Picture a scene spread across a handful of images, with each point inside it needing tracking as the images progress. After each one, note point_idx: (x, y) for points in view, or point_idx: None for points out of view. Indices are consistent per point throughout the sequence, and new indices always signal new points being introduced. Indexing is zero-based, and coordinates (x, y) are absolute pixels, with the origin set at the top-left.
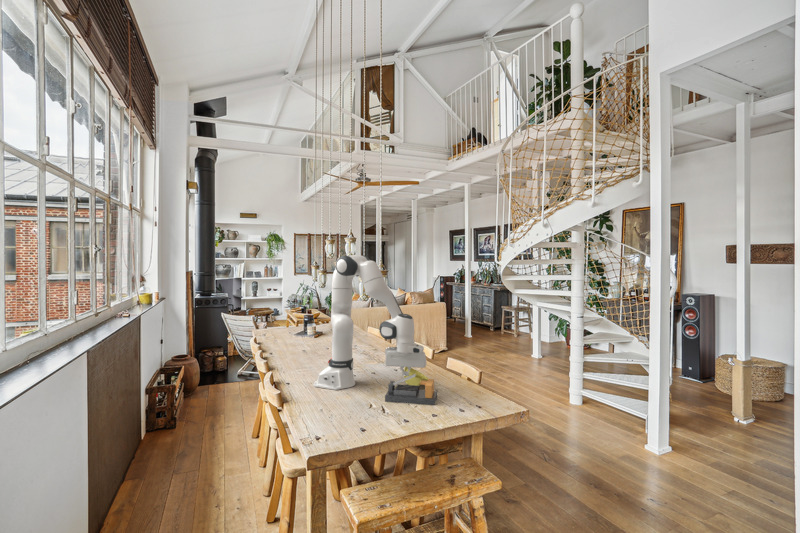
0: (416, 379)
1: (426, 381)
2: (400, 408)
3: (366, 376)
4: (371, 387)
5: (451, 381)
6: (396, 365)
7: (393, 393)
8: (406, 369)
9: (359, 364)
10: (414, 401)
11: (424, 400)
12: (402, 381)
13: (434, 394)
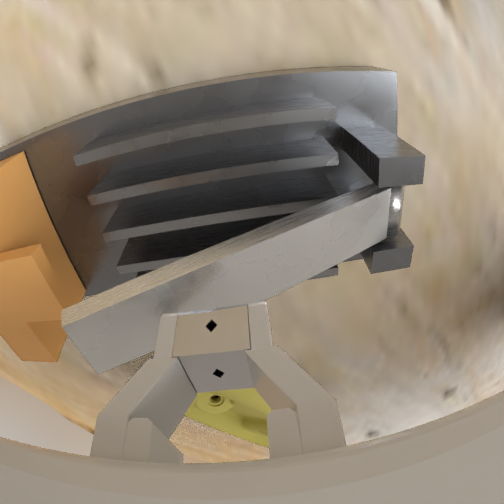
0: (245, 401)
1: (19, 307)
2: None
3: (476, 362)
4: (475, 278)
5: None
6: (457, 437)
7: (334, 137)
8: None
9: None
10: (110, 105)
11: (34, 134)
12: (256, 229)
13: None
